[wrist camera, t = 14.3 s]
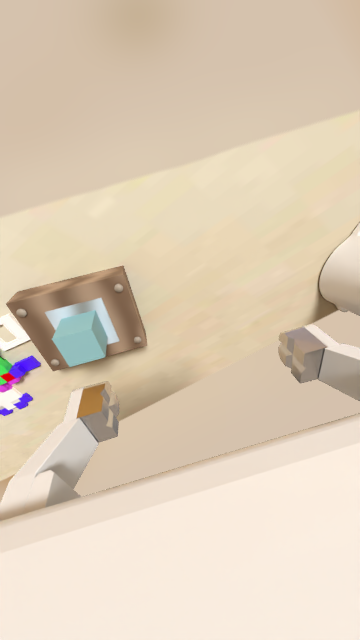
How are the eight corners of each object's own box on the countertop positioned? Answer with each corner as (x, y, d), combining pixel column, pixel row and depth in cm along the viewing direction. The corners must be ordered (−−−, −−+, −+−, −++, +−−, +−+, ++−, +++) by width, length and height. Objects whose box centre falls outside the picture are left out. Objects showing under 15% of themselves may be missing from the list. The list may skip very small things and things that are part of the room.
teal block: (95, 310, 33) (91, 328, 29) (107, 336, 36) (105, 357, 32) (61, 318, 33) (51, 339, 28) (76, 345, 35) (69, 367, 31)
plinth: (123, 265, 35) (123, 275, 31) (145, 332, 42) (147, 346, 38) (17, 291, 34) (4, 305, 30) (58, 355, 41) (52, 372, 37)
